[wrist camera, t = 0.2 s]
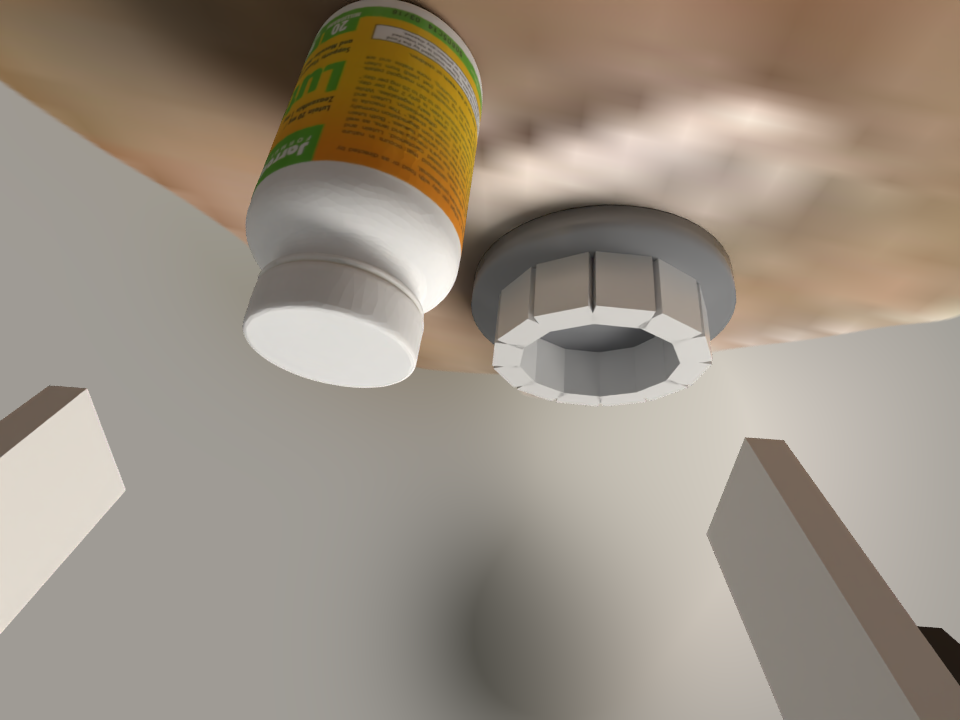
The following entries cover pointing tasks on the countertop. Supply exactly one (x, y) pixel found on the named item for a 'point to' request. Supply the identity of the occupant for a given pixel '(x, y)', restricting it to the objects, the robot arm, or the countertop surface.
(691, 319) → the bottle holder
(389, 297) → the supplement bottle
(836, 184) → the countertop surface
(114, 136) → the countertop surface
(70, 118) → the countertop surface
